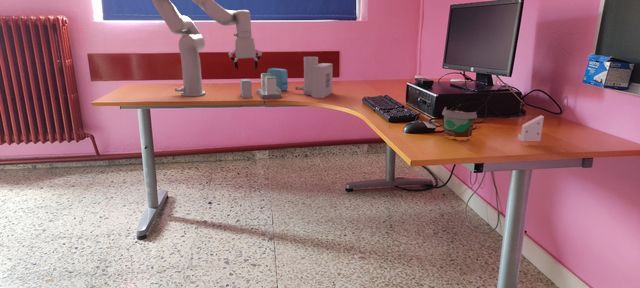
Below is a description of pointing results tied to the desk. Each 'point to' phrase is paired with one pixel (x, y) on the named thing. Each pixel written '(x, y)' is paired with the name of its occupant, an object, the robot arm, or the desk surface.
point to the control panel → (317, 78)
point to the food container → (458, 123)
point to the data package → (280, 78)
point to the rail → (264, 96)
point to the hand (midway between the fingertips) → (246, 69)
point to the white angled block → (532, 130)
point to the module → (246, 88)
